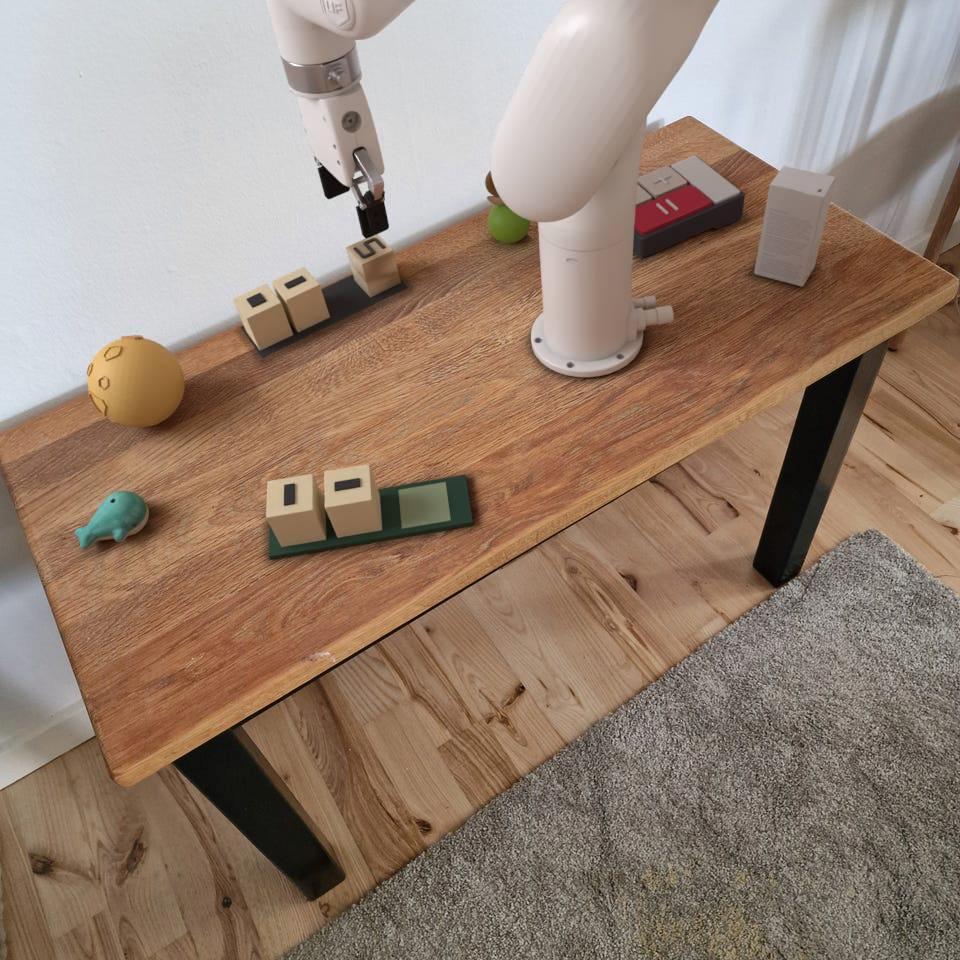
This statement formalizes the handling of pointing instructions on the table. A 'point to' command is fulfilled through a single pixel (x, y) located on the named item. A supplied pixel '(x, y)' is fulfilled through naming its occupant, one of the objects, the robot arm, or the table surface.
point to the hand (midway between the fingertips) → (356, 213)
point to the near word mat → (359, 510)
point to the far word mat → (337, 307)
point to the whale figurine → (115, 519)
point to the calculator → (682, 204)
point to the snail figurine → (504, 218)
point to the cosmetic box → (793, 225)
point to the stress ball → (135, 382)
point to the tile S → (373, 265)
